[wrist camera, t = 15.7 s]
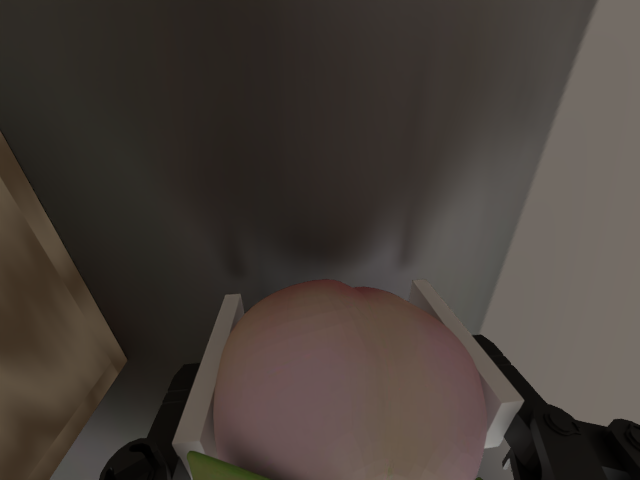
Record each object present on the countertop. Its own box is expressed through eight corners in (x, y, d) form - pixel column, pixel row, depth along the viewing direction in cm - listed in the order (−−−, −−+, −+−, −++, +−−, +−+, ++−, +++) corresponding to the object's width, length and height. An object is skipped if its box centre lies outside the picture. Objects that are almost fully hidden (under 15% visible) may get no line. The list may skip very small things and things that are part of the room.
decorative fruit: (228, 346, 15) (131, 700, 6) (254, 218, 11) (125, 581, 3) (374, 364, 17) (468, 648, 8) (432, 260, 13) (706, 545, 5)
